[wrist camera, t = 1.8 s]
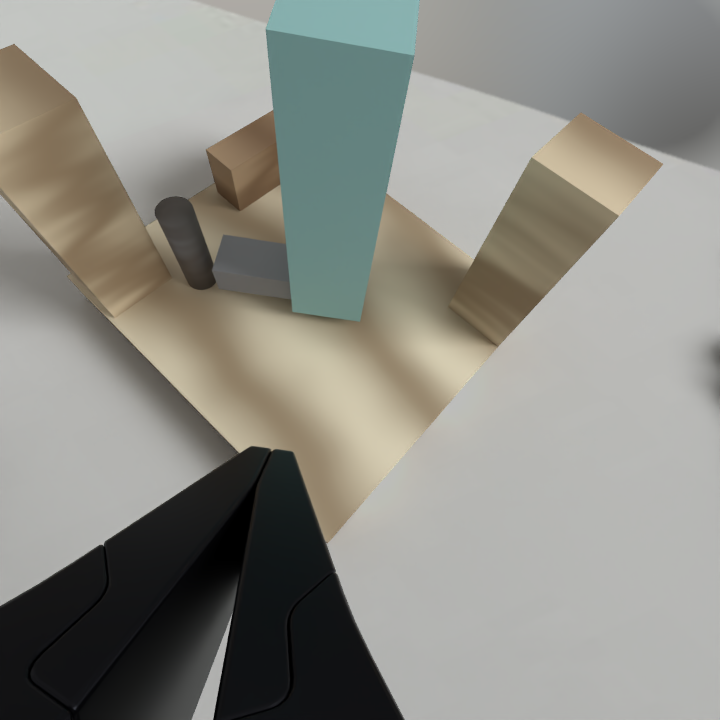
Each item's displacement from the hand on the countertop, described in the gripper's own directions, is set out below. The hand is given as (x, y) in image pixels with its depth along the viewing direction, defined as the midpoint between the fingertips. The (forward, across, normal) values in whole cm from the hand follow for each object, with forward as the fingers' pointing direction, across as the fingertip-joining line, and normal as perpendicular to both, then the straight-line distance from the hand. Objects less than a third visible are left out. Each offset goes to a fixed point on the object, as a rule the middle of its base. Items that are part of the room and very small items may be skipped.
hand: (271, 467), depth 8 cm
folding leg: (+15, +2, 0) cm, 15 cm away
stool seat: (+17, +1, +1) cm, 17 cm away
